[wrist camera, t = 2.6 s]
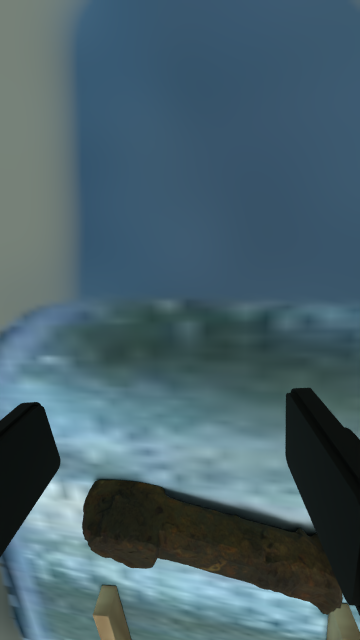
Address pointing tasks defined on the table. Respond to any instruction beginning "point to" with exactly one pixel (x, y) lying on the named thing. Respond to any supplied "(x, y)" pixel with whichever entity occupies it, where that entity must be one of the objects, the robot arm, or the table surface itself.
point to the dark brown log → (205, 542)
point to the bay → (116, 636)
